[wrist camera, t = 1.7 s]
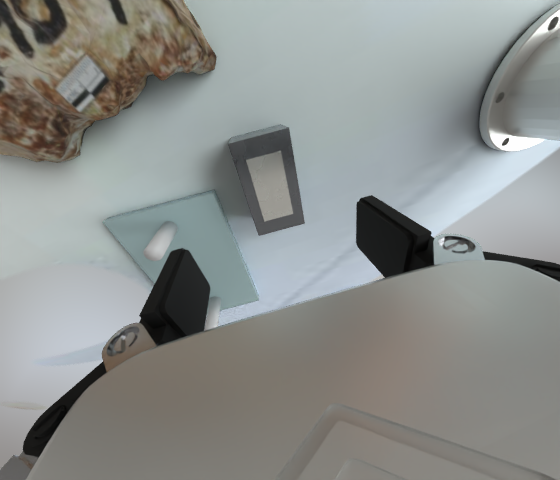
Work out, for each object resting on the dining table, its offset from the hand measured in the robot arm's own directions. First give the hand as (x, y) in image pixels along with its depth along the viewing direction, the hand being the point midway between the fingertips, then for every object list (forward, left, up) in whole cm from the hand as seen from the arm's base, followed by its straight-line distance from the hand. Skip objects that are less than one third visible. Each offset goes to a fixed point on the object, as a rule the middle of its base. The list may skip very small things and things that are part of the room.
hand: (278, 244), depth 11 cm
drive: (-1, 0, -13) cm, 13 cm away
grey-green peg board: (+11, +9, -13) cm, 19 cm away
